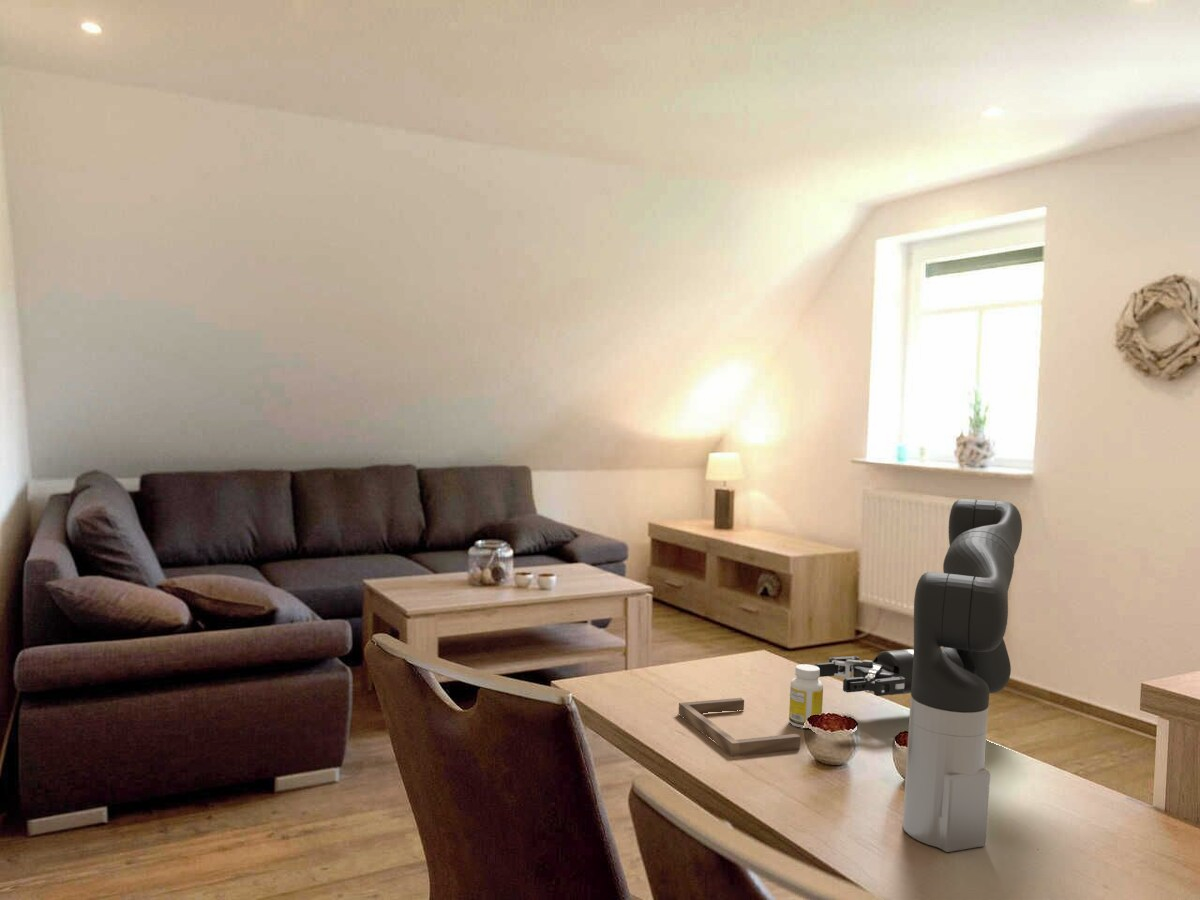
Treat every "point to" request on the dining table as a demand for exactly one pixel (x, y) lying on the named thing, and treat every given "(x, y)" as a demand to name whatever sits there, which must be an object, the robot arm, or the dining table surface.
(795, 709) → the supplement bottle
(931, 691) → the robot arm
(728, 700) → the walnut tray
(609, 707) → the dining table surface
